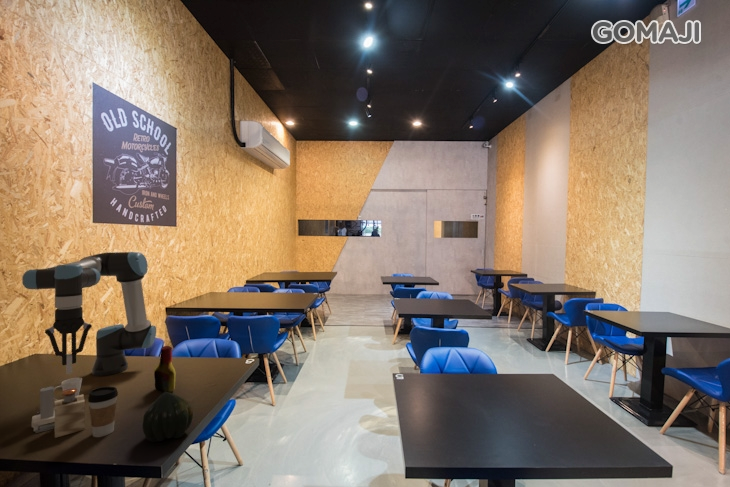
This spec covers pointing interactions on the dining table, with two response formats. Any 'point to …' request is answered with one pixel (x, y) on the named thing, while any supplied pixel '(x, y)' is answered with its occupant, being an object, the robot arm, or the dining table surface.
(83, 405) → the beige box
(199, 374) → the dining table surface
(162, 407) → the squash
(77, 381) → the cup
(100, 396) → the coffee cup
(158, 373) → the bottle
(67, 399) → the button
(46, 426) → the rail
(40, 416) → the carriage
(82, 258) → the robot arm
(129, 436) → the dining table surface
